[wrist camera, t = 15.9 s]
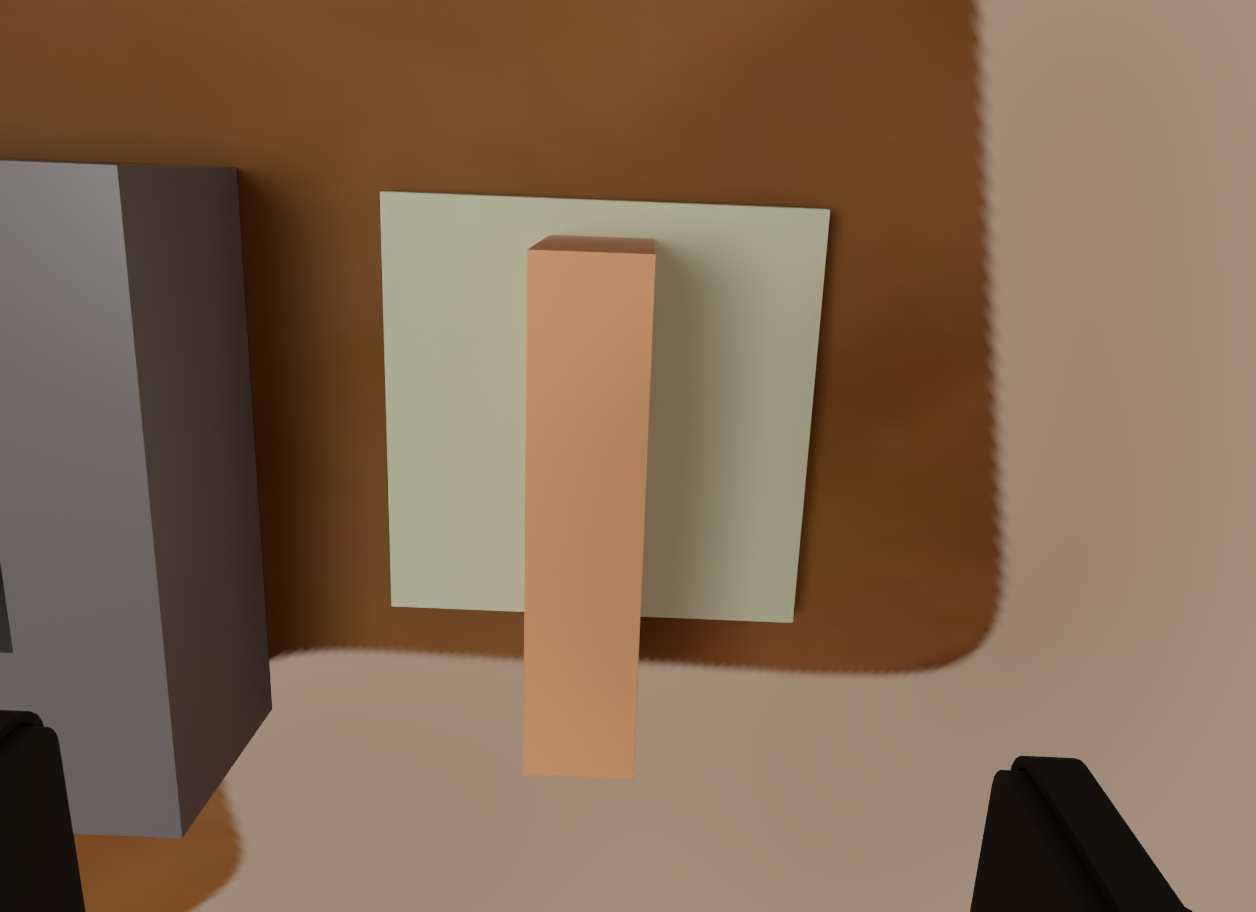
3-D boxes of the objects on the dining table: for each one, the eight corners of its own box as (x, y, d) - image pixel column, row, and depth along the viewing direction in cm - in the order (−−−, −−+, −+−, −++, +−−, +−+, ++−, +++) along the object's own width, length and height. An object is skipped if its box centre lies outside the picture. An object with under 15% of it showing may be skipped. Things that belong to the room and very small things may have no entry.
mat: (824, 208, 30) (830, 209, 29) (788, 609, 33) (792, 622, 32) (388, 191, 30) (379, 191, 29) (398, 593, 33) (391, 606, 32)
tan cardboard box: (655, 254, 23) (633, 778, 27) (653, 238, 29) (634, 672, 33) (527, 249, 23) (522, 775, 27) (550, 234, 29) (544, 669, 33)
